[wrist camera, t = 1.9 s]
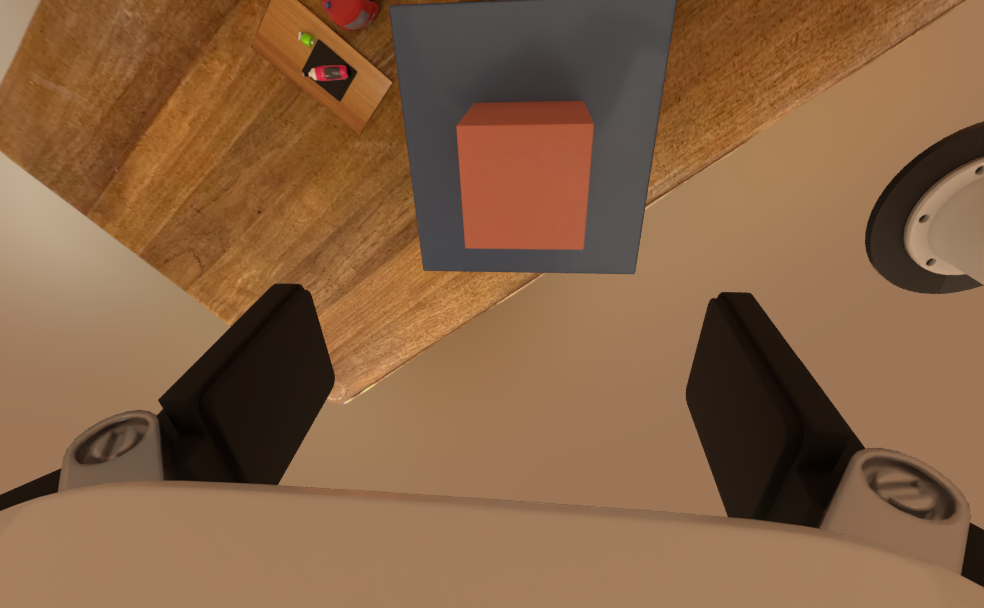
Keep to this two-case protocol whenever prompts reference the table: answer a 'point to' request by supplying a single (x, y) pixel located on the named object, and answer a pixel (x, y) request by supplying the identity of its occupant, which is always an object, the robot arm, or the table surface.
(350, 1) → the toy fire truck
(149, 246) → the table surface
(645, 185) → the shelf
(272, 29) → the board
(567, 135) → the toy block
